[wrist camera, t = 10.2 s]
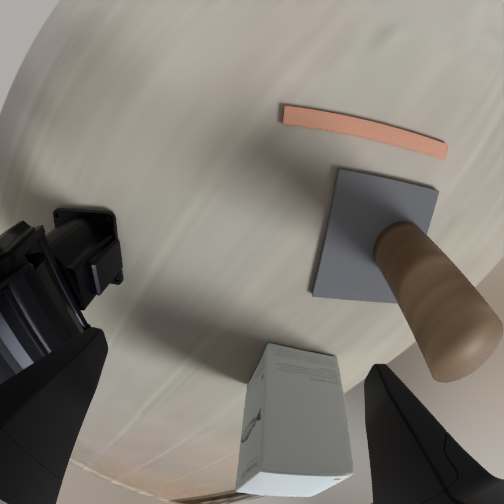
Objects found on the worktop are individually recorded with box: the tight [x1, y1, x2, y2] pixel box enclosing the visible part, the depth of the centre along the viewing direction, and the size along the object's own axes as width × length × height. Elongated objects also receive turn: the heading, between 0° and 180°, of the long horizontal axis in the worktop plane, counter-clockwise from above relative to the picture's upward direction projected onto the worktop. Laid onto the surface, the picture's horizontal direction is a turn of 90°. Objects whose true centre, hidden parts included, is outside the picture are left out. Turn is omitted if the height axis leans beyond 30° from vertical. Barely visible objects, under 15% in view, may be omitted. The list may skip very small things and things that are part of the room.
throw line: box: [283, 106, 448, 160], centre depth 17 cm, size 12×1×1 cm, turn 85°
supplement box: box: [235, 343, 354, 497], centre depth 22 cm, size 7×7×13 cm
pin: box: [373, 221, 503, 382], centre depth 15 cm, size 4×4×11 cm
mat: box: [312, 168, 439, 303], centre depth 20 cm, size 8×10×1 cm
